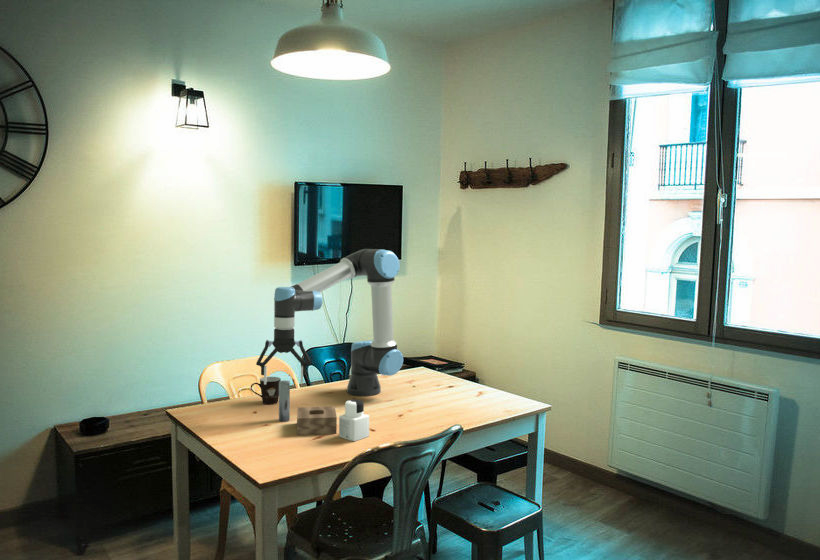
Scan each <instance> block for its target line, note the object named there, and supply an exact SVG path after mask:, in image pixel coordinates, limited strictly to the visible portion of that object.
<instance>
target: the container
mask: <svg viewBox="0 0 820 560" xmlns="http://www.w3.org/2000/svg"><path fill="white" fill-rule="evenodd" d="M364 405H365V403H364V401H363V400H360V399H356V398H355V399H353V398H352V399H349V400H348V399H347V401H346V402H345V404H344V414H341V415H339V417H338V418H339V419H338V420H339V421H338V424H339V426H338V436H339V438H342V439H345V440H348V441H351V442H357V441H360V440H363V439H365V438H368V437H370V415H369V414H365V413H364V412H365V411H364V410H365V409H364V408H365V406H364Z"/></svg>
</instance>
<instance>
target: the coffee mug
mask: <svg viewBox="0 0 820 560" xmlns="http://www.w3.org/2000/svg"><path fill="white" fill-rule="evenodd" d="M279 381H282V379H281V377H279V376H267V381H266V384H264V376H263V377H261V378H259V382H254V383H252V384H251V385H250V390H251V391H252V392H253V393H254V394H255V395H257V396H259V397H261V400H262V402H261V403H262V404H264V405H268V406H269V405H276V404H279ZM254 385H258V387H259V388H260V392H261V394H259V393H257V392H256V391H255V390H254V389H253V387H254Z"/></svg>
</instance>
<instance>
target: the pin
mask: <svg viewBox="0 0 820 560" xmlns="http://www.w3.org/2000/svg"><path fill="white" fill-rule="evenodd" d="M290 384H291V383H290V380H281V381H279V399H278V422H280V423H287V422H289V421H290V416H291V414H290V413H291V412H290V411H291V410H290V406H291V405H290V403H291V402H290V400H291V398H290V397H291V395H290V389H291V385H290Z"/></svg>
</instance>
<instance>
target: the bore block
mask: <svg viewBox="0 0 820 560" xmlns="http://www.w3.org/2000/svg"><path fill="white" fill-rule="evenodd" d="M337 420H338V418H337V411H336V406H333V405H332V406H305V407H303V406H301V407H300V406H299V407H297V412H296V436H306V435H307V436H308V435H310V436H312V435H335V434H337V433H338V432H337V429H338V428H337V426H338V425H337V422H338V421H337Z"/></svg>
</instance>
